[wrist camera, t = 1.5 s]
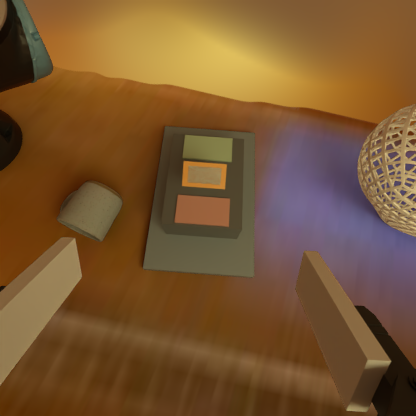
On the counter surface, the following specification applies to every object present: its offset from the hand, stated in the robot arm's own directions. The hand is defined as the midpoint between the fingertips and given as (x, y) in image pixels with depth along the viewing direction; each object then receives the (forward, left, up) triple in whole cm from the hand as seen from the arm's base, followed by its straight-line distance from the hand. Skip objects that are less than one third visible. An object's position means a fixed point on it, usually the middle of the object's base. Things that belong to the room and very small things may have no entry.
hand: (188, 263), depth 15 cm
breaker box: (-9, +14, -29) cm, 33 cm away
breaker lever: (-9, +14, -21) cm, 27 cm away
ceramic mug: (-22, -1, -29) cm, 37 cm away
